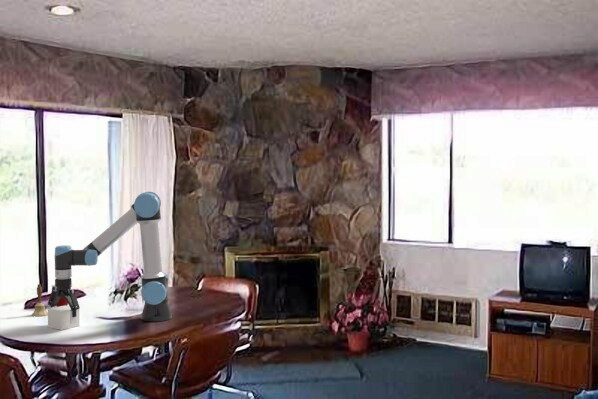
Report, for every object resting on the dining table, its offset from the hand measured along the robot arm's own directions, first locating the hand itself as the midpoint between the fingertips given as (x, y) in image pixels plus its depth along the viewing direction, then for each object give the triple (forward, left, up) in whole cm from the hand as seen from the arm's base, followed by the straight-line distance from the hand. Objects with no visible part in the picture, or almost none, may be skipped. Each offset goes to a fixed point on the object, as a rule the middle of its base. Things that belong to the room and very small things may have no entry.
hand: (63, 321), depth 335 cm
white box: (0, 0, -2) cm, 2 cm away
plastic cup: (+40, -31, -2) cm, 51 cm away
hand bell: (+31, -10, -2) cm, 33 cm away
